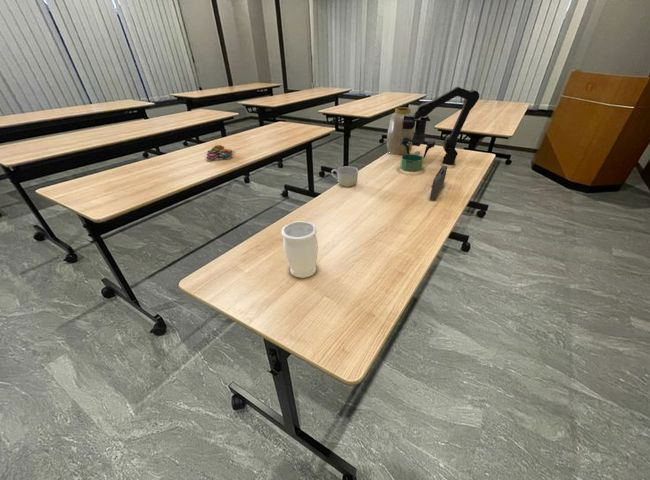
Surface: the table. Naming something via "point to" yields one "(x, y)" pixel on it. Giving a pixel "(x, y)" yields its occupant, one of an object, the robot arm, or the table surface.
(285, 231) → the jar
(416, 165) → the pot
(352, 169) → the teacup
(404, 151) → the vase
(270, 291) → the table surface
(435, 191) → the handheld gaming console
